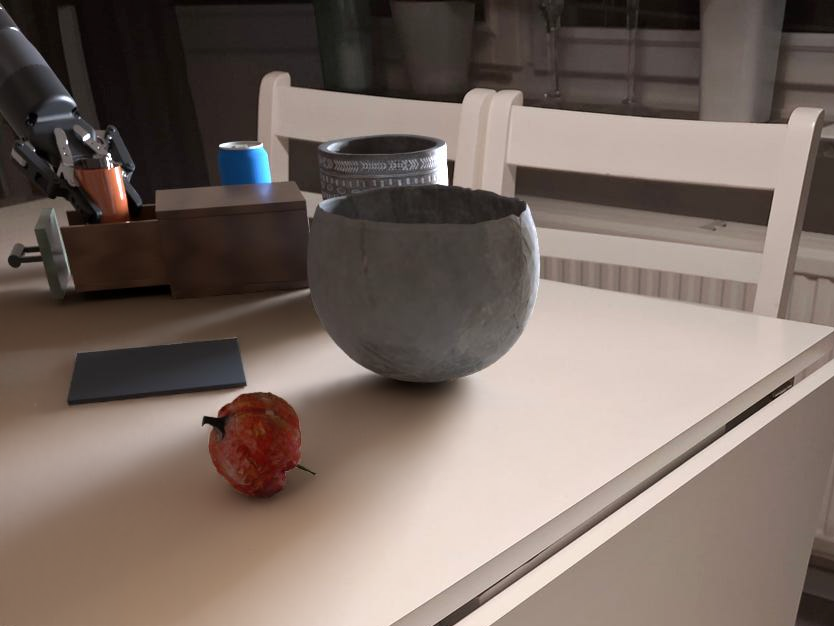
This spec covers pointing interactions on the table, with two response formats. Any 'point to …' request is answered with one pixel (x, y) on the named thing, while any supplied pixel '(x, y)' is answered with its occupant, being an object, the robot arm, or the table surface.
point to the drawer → (97, 252)
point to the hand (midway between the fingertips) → (118, 216)
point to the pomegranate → (255, 443)
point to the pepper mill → (104, 187)
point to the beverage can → (243, 163)
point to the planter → (380, 163)
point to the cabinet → (234, 238)
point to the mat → (156, 370)
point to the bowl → (423, 278)
